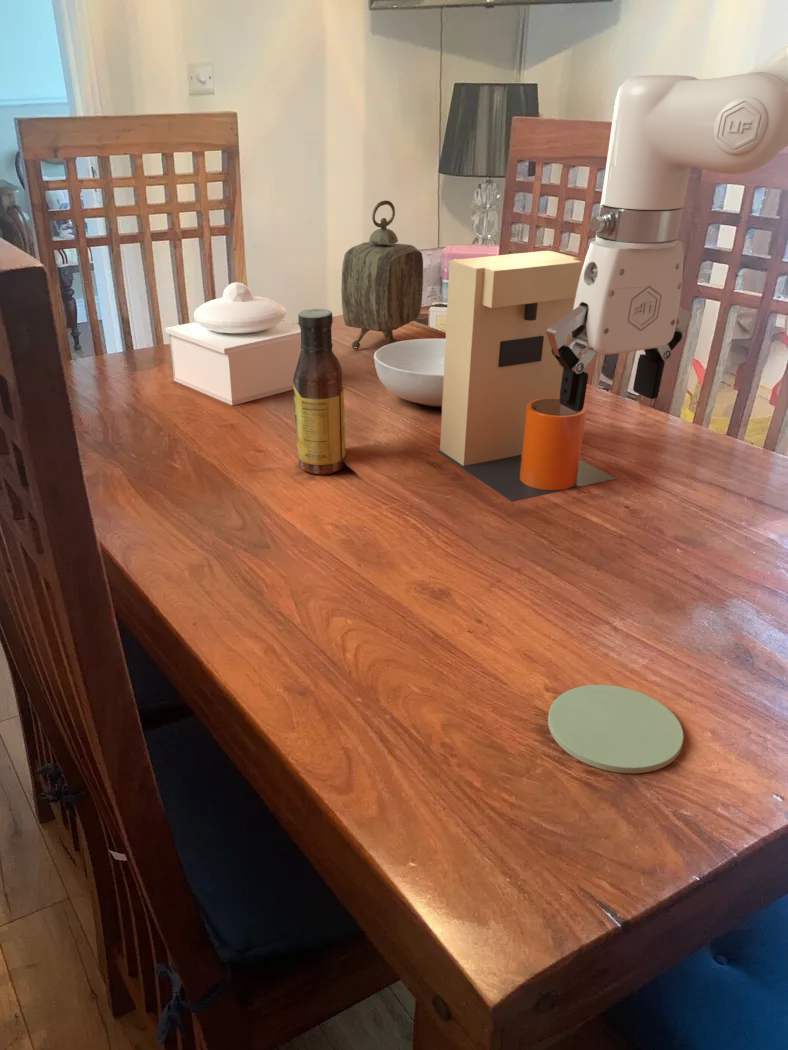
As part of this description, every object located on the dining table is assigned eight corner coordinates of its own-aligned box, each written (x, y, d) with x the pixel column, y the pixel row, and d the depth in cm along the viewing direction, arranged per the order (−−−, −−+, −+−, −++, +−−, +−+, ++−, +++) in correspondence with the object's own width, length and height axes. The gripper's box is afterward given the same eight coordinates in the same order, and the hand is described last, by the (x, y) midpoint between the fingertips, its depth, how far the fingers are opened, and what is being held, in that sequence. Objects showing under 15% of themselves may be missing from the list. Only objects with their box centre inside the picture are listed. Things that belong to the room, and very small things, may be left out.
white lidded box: (319, 382, 144) (316, 282, 135) (229, 406, 134) (220, 300, 126) (257, 360, 155) (252, 267, 147) (170, 381, 145) (159, 282, 137)
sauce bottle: (316, 455, 116) (312, 302, 106) (355, 465, 113) (354, 308, 103) (286, 471, 111) (279, 313, 101) (325, 481, 108) (322, 320, 98)
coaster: (622, 678, 72) (623, 672, 72) (711, 750, 64) (713, 744, 64) (522, 709, 69) (523, 703, 69) (603, 789, 61) (604, 783, 61)
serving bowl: (495, 426, 125) (499, 379, 121) (357, 413, 130) (357, 368, 127) (516, 384, 141) (520, 342, 138) (393, 374, 147) (394, 333, 144)
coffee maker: (435, 461, 114) (445, 260, 101) (531, 443, 119) (552, 250, 106) (510, 513, 100) (532, 288, 87) (614, 490, 105) (650, 274, 92)
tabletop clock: (384, 334, 170) (386, 195, 157) (423, 340, 166) (429, 198, 153) (341, 350, 160) (340, 203, 147) (382, 358, 156) (385, 207, 143)
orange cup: (554, 464, 108) (562, 394, 104) (588, 484, 103) (599, 411, 98) (508, 474, 106) (515, 402, 101) (540, 494, 101) (549, 419, 96)
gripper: (589, 238, 76) (562, 424, 85) (736, 226, 82) (697, 401, 91) (539, 226, 82) (519, 401, 91) (680, 216, 88) (648, 381, 97)
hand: (608, 401), depth 91 cm, fingers open, 9 cm apart
